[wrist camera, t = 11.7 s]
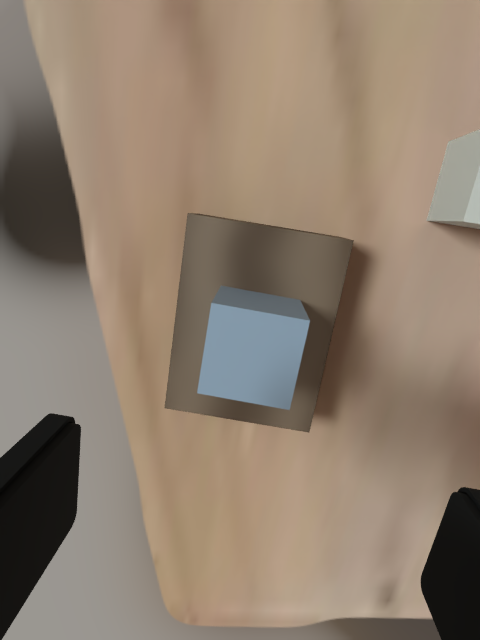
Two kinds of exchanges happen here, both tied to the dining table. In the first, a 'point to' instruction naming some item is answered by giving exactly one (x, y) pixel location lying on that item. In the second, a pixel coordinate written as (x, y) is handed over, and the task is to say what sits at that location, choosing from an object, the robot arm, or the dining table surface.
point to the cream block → (459, 184)
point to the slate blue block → (253, 347)
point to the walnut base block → (264, 277)
